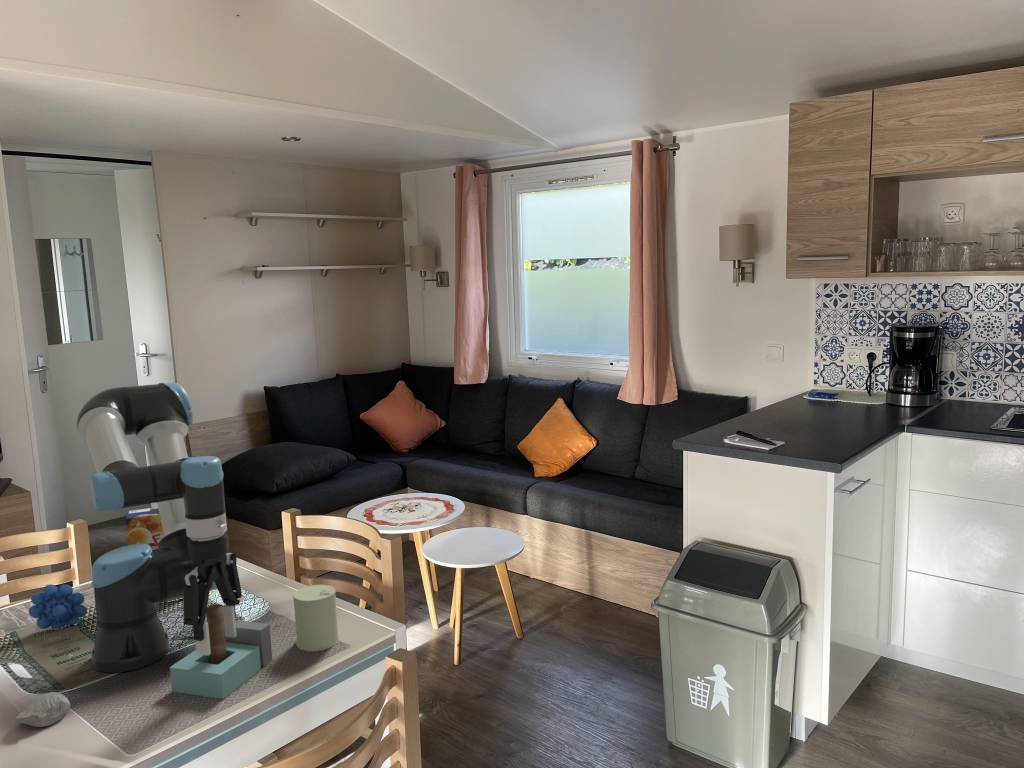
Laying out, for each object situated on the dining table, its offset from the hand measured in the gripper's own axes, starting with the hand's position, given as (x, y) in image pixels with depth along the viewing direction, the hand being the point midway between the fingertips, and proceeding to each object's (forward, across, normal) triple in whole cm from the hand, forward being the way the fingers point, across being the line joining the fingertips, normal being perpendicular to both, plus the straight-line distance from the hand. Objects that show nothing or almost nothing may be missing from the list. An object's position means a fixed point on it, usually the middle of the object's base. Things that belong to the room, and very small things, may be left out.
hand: (217, 644), depth 157 cm
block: (+7, -1, 0) cm, 7 cm away
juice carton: (+7, +29, +40) cm, 50 cm away
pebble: (+8, -21, +22) cm, 32 cm away
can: (+7, +19, -11) cm, 23 cm away
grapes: (+7, +9, +51) cm, 52 cm away
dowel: (+7, 0, 0) cm, 7 cm away
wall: (+7, +8, 0) cm, 10 cm away
